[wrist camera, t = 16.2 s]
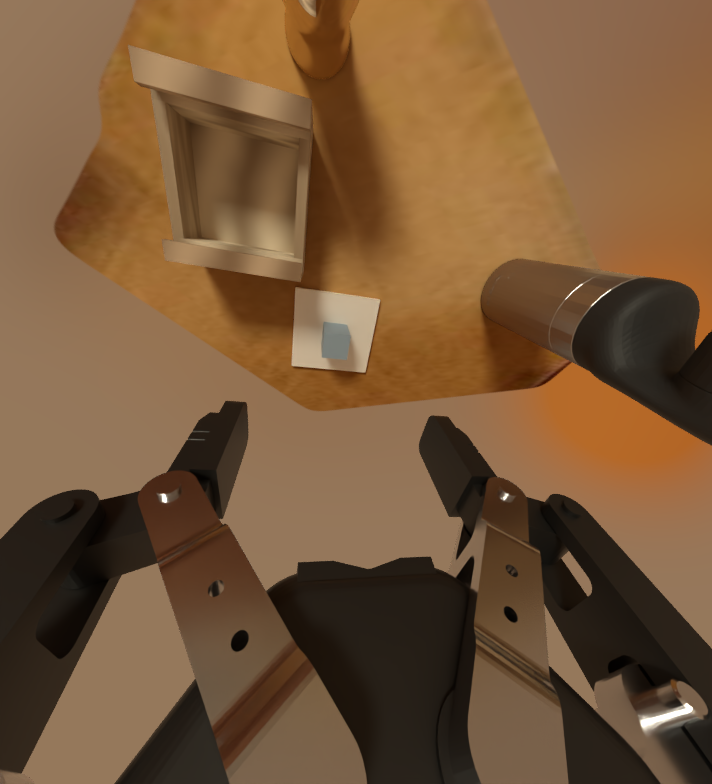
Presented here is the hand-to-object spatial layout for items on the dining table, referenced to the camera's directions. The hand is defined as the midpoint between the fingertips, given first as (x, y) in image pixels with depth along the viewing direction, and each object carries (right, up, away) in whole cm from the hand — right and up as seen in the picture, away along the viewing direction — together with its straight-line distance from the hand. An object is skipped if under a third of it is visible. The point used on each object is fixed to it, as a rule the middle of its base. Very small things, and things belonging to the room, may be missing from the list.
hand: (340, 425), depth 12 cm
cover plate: (-3, +11, +29) cm, 31 cm away
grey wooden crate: (-12, +24, +19) cm, 33 cm away
